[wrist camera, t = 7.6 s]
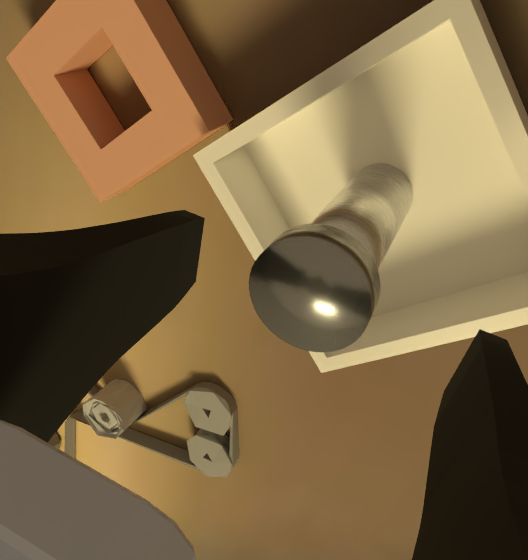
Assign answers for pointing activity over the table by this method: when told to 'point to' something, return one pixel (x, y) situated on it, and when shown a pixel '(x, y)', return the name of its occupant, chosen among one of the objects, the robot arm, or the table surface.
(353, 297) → the pin
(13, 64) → the block
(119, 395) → the pulley system
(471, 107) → the tray
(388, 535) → the table surface
